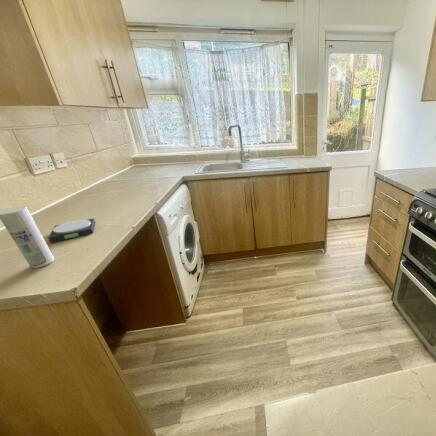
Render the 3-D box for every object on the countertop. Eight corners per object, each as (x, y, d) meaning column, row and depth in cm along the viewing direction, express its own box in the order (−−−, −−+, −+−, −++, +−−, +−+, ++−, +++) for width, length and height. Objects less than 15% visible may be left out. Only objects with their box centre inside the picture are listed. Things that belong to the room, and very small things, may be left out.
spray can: (24, 269, 82) (-10, 215, 73) (39, 258, 88) (9, 207, 79) (46, 266, 83) (15, 213, 74) (59, 256, 88) (31, 205, 80)
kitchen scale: (50, 243, 98) (46, 236, 97) (57, 230, 109) (54, 224, 108) (93, 234, 105) (90, 227, 104) (95, 222, 116) (93, 216, 115)
